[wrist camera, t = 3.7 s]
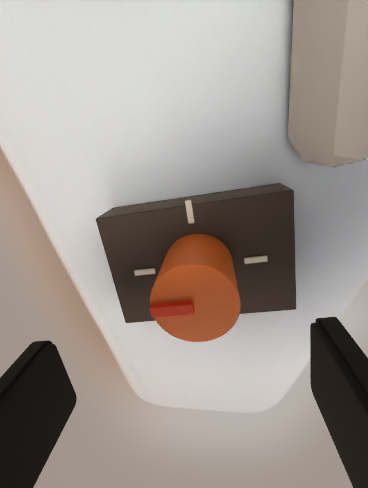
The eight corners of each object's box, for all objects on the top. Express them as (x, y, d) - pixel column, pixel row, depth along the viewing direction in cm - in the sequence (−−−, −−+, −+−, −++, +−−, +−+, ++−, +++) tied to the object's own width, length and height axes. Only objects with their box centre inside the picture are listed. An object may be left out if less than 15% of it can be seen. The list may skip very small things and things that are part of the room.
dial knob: (229, 229, 16) (236, 262, 11) (236, 292, 17) (245, 343, 13) (158, 238, 16) (139, 272, 12) (171, 298, 18) (158, 349, 13)
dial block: (280, 178, 17) (294, 184, 14) (284, 290, 20) (297, 315, 17) (110, 204, 19) (92, 214, 16) (137, 303, 22) (125, 328, 19)
